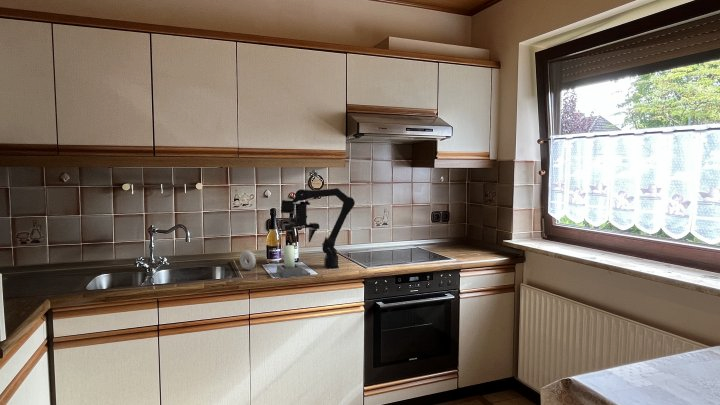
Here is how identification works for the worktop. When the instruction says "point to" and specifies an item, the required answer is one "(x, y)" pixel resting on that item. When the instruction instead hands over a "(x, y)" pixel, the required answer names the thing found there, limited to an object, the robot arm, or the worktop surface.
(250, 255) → the donut
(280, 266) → the socket
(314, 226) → the robot arm
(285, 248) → the pale green cylinder
